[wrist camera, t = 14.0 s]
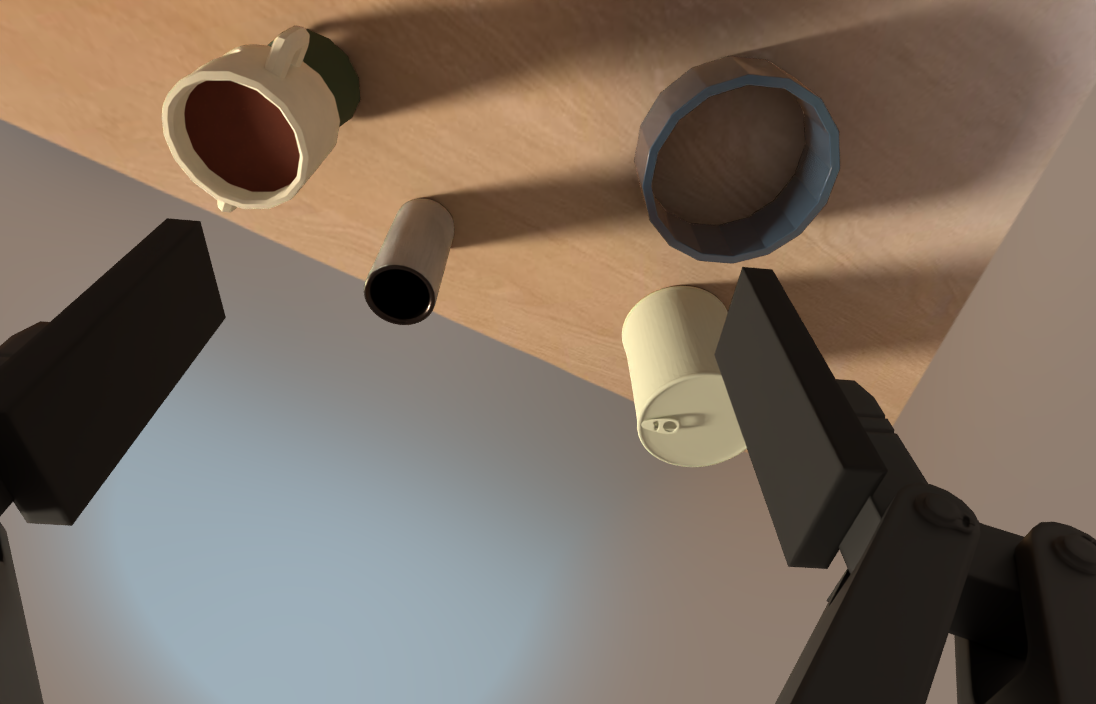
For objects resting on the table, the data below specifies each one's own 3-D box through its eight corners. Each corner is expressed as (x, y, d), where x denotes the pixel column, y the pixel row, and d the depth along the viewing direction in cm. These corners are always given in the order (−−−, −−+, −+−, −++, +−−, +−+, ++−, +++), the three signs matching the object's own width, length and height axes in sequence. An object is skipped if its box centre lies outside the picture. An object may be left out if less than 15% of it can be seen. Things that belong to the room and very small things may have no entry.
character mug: (290, -36, 38) (191, -5, 27) (398, 36, 40) (345, 89, 29) (237, 119, 43) (137, 194, 33) (334, 174, 45) (270, 260, 35)
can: (623, 286, 51) (641, 379, 41) (737, 283, 51) (780, 376, 41) (619, 374, 56) (634, 474, 47) (722, 371, 56) (757, 471, 47)
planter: (386, 234, 48) (352, 307, 40) (409, 186, 46) (379, 252, 38) (439, 261, 50) (418, 336, 41) (464, 216, 47) (447, 285, 39)
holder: (600, 139, 44) (606, 165, 40) (759, 13, 39) (783, 27, 35) (694, 260, 50) (706, 293, 46) (842, 163, 45) (871, 190, 41)
